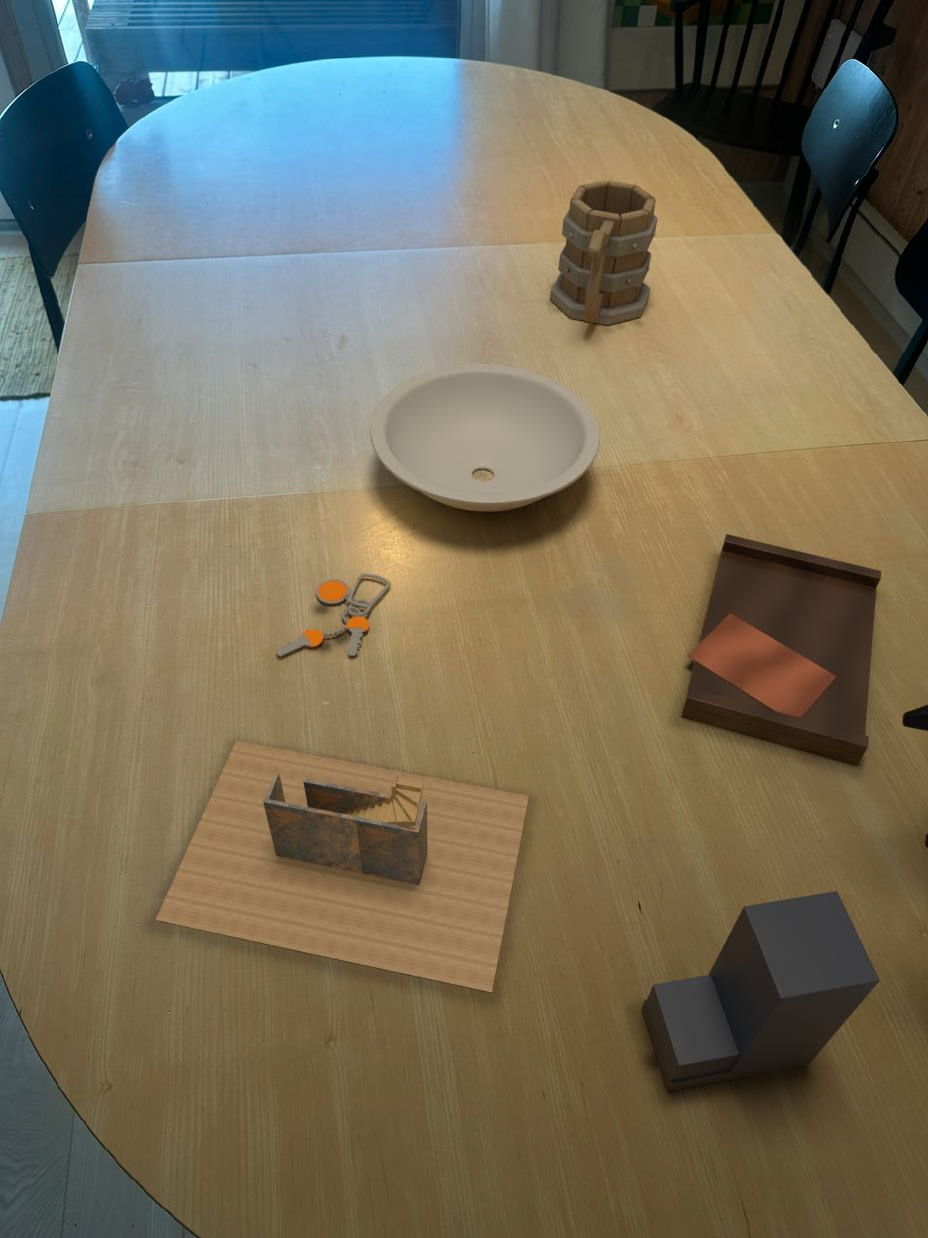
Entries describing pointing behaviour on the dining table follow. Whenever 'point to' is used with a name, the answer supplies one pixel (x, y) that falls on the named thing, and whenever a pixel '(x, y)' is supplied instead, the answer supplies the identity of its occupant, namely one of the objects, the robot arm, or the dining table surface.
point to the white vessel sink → (484, 435)
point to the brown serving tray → (786, 649)
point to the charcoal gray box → (762, 995)
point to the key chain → (335, 594)
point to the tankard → (606, 253)
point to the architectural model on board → (353, 864)
